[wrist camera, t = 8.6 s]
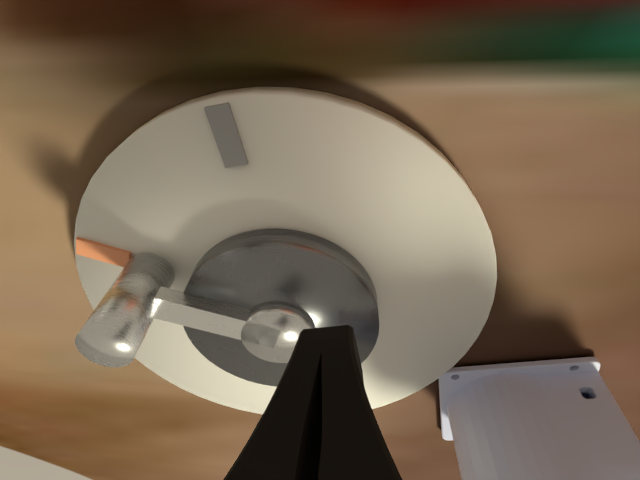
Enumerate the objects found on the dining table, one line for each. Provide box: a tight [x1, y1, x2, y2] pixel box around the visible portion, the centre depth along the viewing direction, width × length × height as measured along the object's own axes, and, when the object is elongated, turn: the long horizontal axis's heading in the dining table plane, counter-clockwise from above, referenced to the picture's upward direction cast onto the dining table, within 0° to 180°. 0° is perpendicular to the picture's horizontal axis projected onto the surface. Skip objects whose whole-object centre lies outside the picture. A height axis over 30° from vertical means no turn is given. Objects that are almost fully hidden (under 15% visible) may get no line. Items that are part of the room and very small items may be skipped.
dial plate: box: [74, 86, 497, 414], centre depth 23 cm, size 22×22×1 cm
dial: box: [75, 228, 379, 387], centre depth 20 cm, size 13×10×5 cm
